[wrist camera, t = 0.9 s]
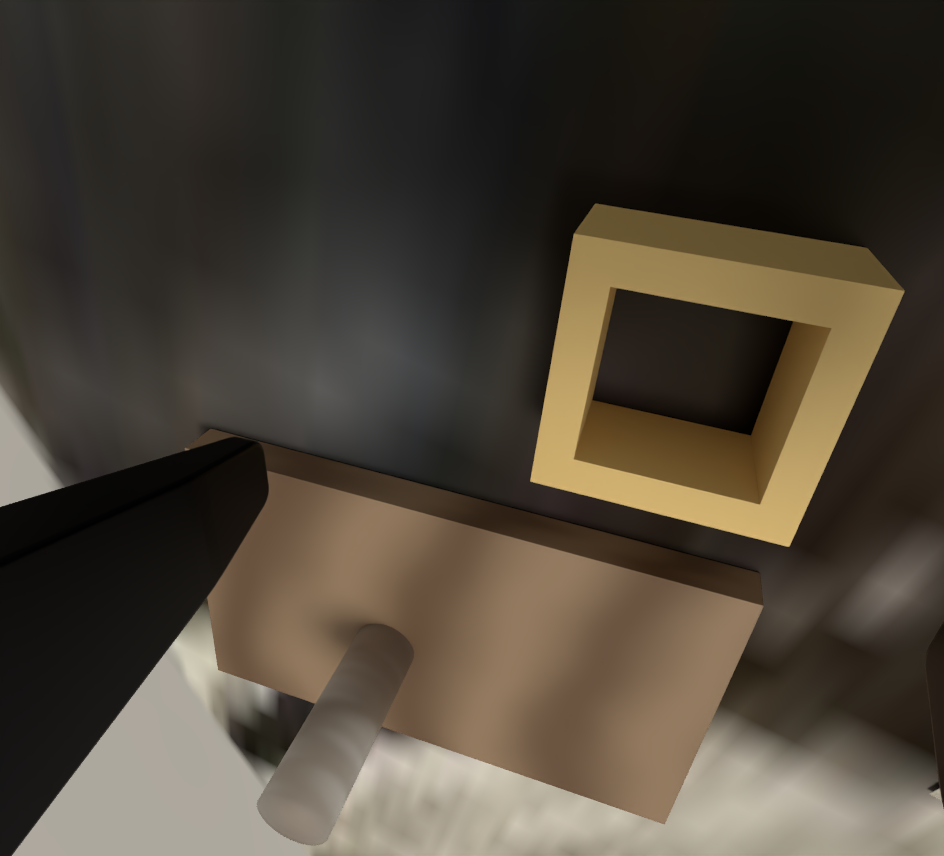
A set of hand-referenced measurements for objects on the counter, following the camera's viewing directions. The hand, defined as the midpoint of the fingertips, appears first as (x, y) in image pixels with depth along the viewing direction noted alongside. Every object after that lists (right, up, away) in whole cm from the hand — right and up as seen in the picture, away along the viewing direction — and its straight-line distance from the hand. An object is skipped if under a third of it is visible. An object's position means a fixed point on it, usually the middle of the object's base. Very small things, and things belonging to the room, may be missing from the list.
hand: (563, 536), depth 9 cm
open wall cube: (+5, +4, +10) cm, 11 cm away
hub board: (-2, -6, +17) cm, 19 cm away
